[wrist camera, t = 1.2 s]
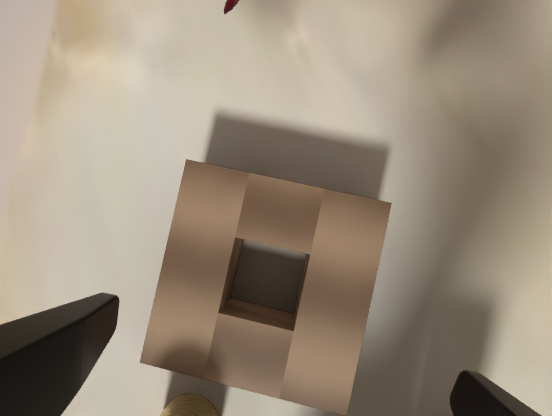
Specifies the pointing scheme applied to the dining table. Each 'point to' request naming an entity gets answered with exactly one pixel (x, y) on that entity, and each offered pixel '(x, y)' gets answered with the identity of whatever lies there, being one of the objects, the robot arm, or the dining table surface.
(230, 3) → the decorative bird figurine
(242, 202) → the socket block
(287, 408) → the dining table surface
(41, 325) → the robot arm
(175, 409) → the round bit
